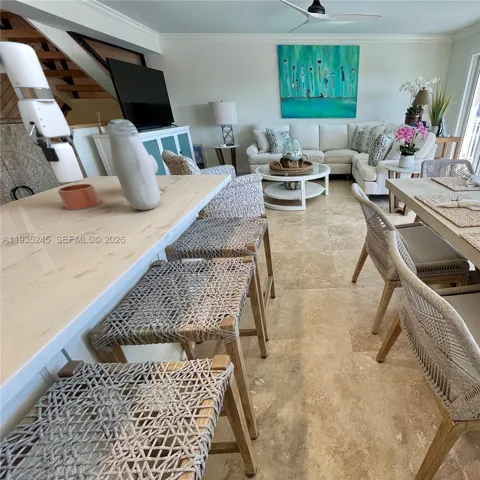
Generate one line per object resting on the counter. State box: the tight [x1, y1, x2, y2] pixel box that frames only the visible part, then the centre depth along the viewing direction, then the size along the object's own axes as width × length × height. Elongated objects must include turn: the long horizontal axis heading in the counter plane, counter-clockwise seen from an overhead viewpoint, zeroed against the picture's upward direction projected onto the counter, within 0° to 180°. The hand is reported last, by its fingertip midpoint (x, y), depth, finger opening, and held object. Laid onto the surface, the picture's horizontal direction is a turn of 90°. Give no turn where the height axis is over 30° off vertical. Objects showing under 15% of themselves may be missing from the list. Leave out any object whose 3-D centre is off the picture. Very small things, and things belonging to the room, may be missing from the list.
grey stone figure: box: [106, 118, 161, 211], centre depth 84 cm, size 10×10×28 cm
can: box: [49, 141, 84, 184], centre depth 85 cm, size 6×6×12 cm
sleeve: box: [57, 183, 101, 211], centre depth 90 cm, size 9×9×7 cm
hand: (63, 158), depth 84 cm, fingers closed on can, 6 cm apart
